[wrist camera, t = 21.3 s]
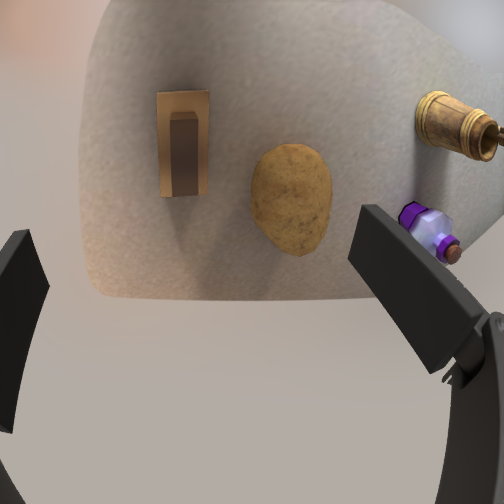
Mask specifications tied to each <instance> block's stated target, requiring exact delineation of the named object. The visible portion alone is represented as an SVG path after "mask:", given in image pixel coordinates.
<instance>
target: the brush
mask: <svg viewBox="0 0 504 504" xmlns="http://www.w3.org/2000/svg"><path fill="white" fill-rule="evenodd" d="M208 121H209V91H207V90H206V89H200V90H174V91H159V92H158V93H157V136H158V159H159V177H160V191H161V198H163V197H176V196H190V195H206V194H208Z"/></svg>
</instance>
